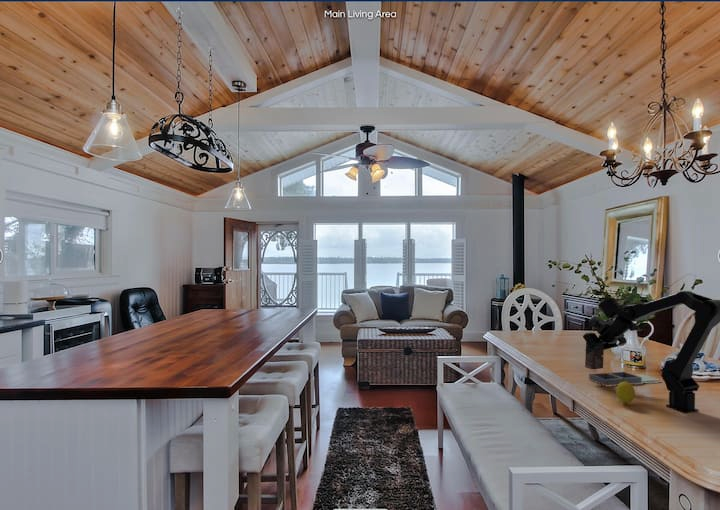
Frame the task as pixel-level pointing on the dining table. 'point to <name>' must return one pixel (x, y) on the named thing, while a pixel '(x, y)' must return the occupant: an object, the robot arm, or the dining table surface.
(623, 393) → the lemon
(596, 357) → the box
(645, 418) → the dining table surface
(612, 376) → the tray
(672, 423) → the dining table surface
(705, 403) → the dining table surface
